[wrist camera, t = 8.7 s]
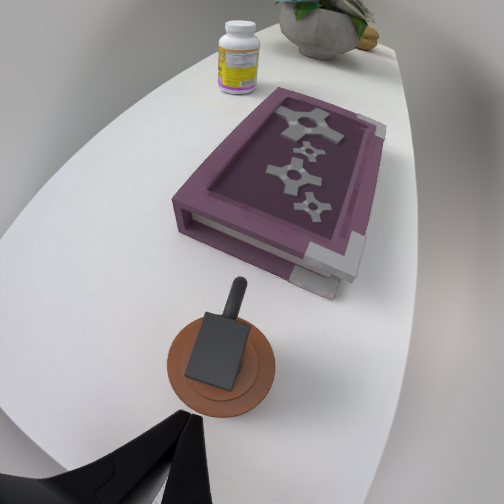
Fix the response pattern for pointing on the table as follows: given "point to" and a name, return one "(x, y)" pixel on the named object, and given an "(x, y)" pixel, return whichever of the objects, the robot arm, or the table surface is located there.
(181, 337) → the soap bottle
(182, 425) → the robot arm
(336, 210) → the book
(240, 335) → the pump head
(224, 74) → the supplement bottle
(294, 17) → the flower arrangement
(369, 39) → the pot
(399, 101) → the table surface
